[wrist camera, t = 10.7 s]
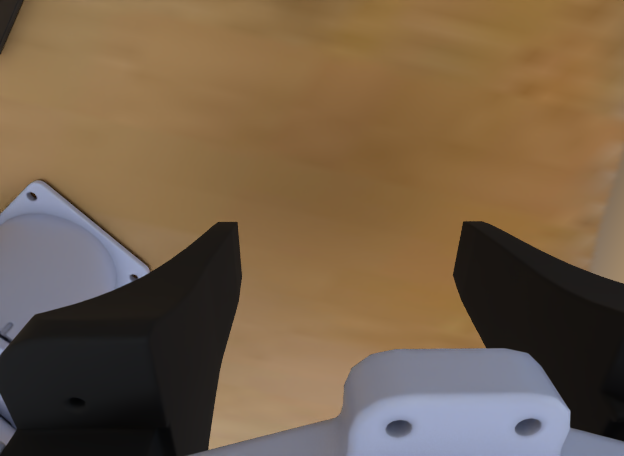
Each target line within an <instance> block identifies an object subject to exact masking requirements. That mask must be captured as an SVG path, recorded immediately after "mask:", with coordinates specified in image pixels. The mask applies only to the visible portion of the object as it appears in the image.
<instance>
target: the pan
mask: <svg viewBox="0 0 624 456" xmlns="http://www.w3.org/2000/svg"><path fill="white" fill-rule="evenodd" d="M22 2H23V0H0V53H1V51H2V49H3V46H4V44H5V42H6V39H7V37H8V35H9V32H10V30H11V28H12V25H13V23H14V21H15V18H16V16H17V14H18V11H19V9H20V7H21V4H22Z"/></svg>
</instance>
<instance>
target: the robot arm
mask: <svg viewBox="0 0 624 456" xmlns="http://www.w3.org/2000/svg"><path fill="white" fill-rule="evenodd" d="M31 192H32V193H34V194H35V195H36V197H37V198H35V197H33V196H32V195H31ZM132 274H134V275H137V276H138V278H135V277H133V276H132ZM453 277H454V280H455V283H456V286H457V289H458V292H459V295H460V298H461V300H462V302H463V304H464V307H465V308H466V310H467V312H468V314H469V316H470V318H471V320H472V322H473V324H474V326H475V328H476V330H477V331H478V333H479V335H480V337H481V339H482V341H483V343H484V345H485V346H486V348H480V349H394V350H389V351H384V352H379V353H375V354H371V355H369V356H368V357H366V358H365V359H364V360H362V361H361V362H359V363H358V364H357V365H355V366H354V367H352V368H351V371H350V373H349V375H348V378H347V380H346V382H345V384H344V396H343V406H342V410H341V413H340V414H339V416H337V417H336V418H333V419H329V420H325V421H321V422H317V423H313V424H309V425H305V426H301V427H297V428H293V429H289V430H285V431H281V432H278V433H274V434H270V435H266V436H262V437H258V438H254V439H250V440H246V441H242V442H238V443H234V444H230V445H227V446H223V447H219V448H215V449H211V450H208V446H209V438H210V431H211V424H212V417H213V411H214V404H215V397H216V391H217V385H218V379H219V373H220V368H221V363H222V359H223V355H224V352H225V348H226V344H227V341H228V337H229V334H230V330H231V327H232V323H233V320H234V316H235V313H236V309H237V305H238V302H239V295H240V287H241V280H242V271H241V259H240V247H239V235H238V223H237V222H218V223H216V224H215V225H214V226H212V227H211V228H210V229H209V230H208V231H207V232H205V233H204V234H203V235H202V236H201V237H199V238H198V239H197V240H196V241H195V242H193V243H192V244H191V245H190V246H188V247H187V248H186V249H184V250H183V251H182V252H180V253H179V254H177V255H176V256H175V257H173V258H172V259H171V260H169V261H168V262H166V263H165V264H163V265H162V266H160V267H158V268H157V269H155V270H153V271H152V272H150V270H149V268H148V267H147V266H146V265H145V264H144V263H143V262H141V261H140V260H139V259H138V258H137V257H135V256H134V255H133V254H132V253H131V252H129V251H128V250H127V249H126V248H124V247H123V246H122V245H121V244H120V243H118V242H117V241H116V240H115V239H113V238H112V237H111V236H110V235H109V234H107V233H106V232H105V231H104V230H102V229H101V228H100V227H99V226H98V225H96V224H95V223H94V222H93V221H91V220H90V219H89V218H88V217H87V216H85V215H84V214H83V213H82V212H81V211H79V210H78V209H77V208H76V207H74V206H73V205H72V204H71V203H70V202H68V201H67V200H66V199H65V198H63V197H62V196H61V195H60V194H59V193H57V192H56V191H55V190H54V189H52V188H51V187H50V186H49V185H48V184H46V183H45V182H43V181H40V180H35V181H33V182H32V183H30V184H29V185H28V186H27V187H26V188H25V189H24V190H23V191H22V192H21V193H20V194H19V195H18V196H17V197H16V198H15V199H14V200H13V201H12V203H11V204H10V205H9V206H8V207H7V208H6V209H5V210H4V211H3V212H2V213H1V214H0V456H624V284H623V283H619V282H616V281H613V280H610V279H607V278H604V277H601V276H599V275H596V274H593V273H591V272H588V271H586V270H583V269H580V268H578V267H575V266H573V265H571V264H568V263H566V262H564V261H562V260H559V259H557V258H555V257H553V256H551V255H549V254H547V253H545V252H543V251H541V250H539V249H537V248H535V247H533V246H531V245H529V244H527V243H525V242H523V241H521V240H519V239H518V238H516V237H514V236H512V235H510V234H508V233H506V232H504V231H502V230H501V229H499V228H497V227H495V226H492V225H490V224H488V223H485V222H482V221H465V222H463V226H462V231H461V236H460V241H459V246H458V251H457V257H456V262H455V267H454V272H453Z"/></svg>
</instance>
